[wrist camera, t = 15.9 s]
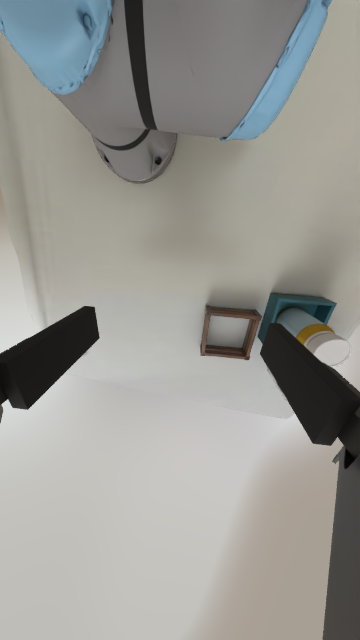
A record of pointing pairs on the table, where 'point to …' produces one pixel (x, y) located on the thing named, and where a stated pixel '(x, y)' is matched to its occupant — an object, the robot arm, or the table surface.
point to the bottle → (315, 336)
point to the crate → (229, 351)
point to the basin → (309, 304)
